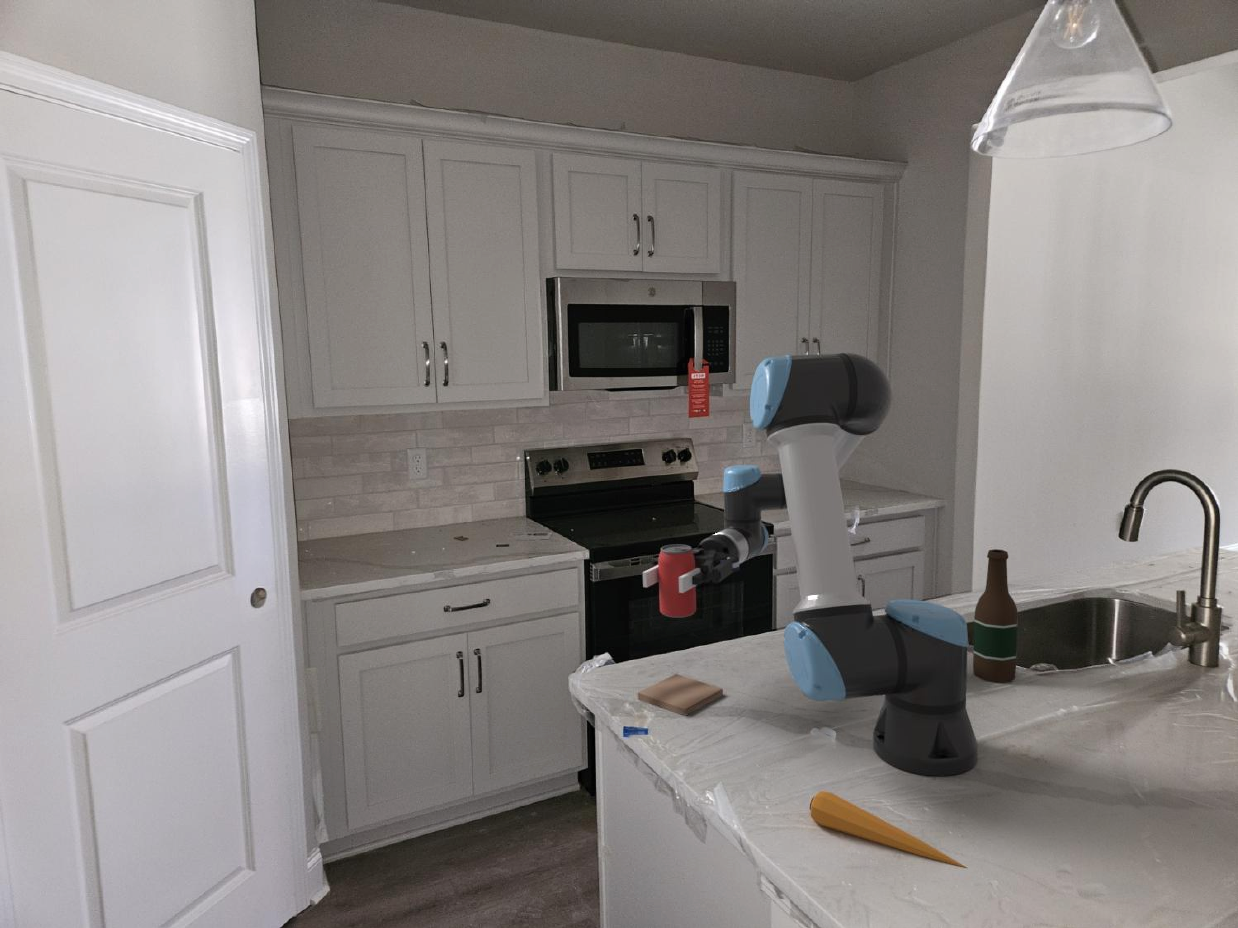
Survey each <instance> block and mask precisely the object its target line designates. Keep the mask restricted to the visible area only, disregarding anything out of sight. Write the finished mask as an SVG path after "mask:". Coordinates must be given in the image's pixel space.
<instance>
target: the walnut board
mask: <svg viewBox="0 0 1238 928" xmlns="http://www.w3.org/2000/svg"><path fill="white" fill-rule="evenodd" d="M721 695H722V696H723V695H724V689H723V688H722V687H720V686H719V687H718V686H716V685H713V684H709V683H706V682H703V681H699V680H696V679H693V678H691V677H687V676H684V675H681V674H678V673H675V674H672V675H671V676H669V677H666V678H665V679H663V680H661V681H659V682H657V683H655V684H653V685H651V686H648V687H646V688H645V689H642V690H640V691H638V692H637V699H638V700H640V701H643V702H645V703H649V704H651V705H654V706H656V705H658V706H657V707H659V706H660V707H659V708H662V709H665V710H667V709H668V711H670V710H671V712H673V711H674V712H673V713H676V714H679V715H681V714H683V715H682V716H684V715H686V714H687V715H689V714H692V713H693V712H694V711H693V710H695V709H696V710H699V709H700V708H702V707H704V706H705V705H707V704H709V703H711V702H713V701H714V700H716V699H718V698H720V697H722V696H721ZM719 696H720V697H719ZM712 700H713V701H712ZM703 705H704V706H703ZM696 710H695V711H696ZM692 711H693V712H692ZM687 715H686V716H687Z"/></svg>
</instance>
